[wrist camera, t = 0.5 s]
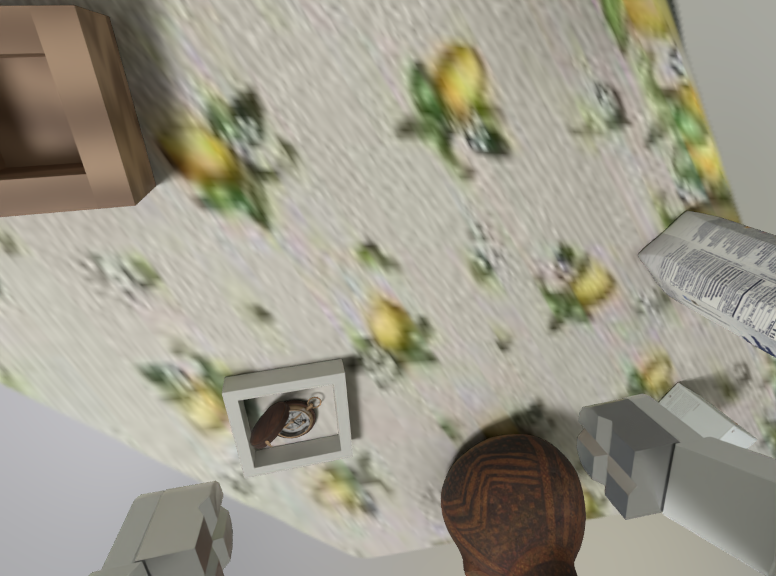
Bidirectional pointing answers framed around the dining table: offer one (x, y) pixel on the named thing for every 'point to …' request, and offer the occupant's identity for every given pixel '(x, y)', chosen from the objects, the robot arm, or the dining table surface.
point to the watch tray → (281, 383)
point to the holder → (66, 115)
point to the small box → (704, 417)
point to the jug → (515, 508)
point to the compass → (283, 422)
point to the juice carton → (719, 273)
